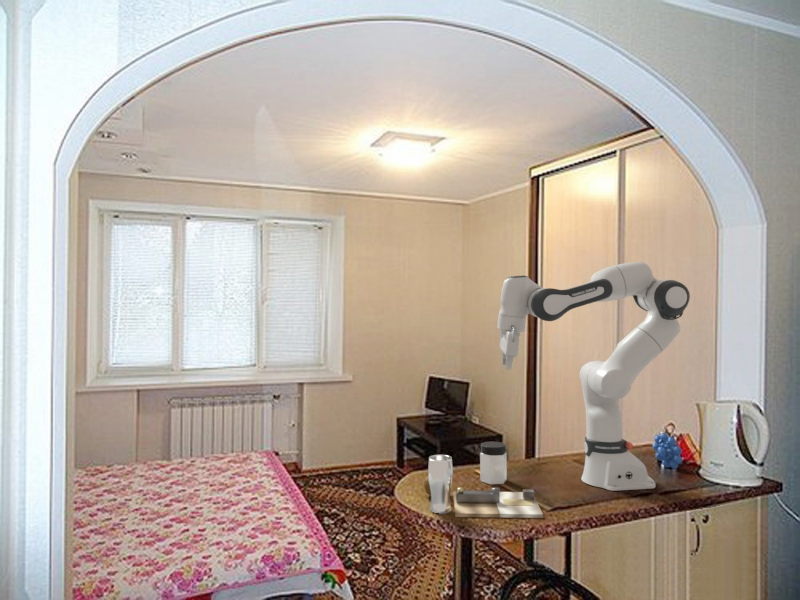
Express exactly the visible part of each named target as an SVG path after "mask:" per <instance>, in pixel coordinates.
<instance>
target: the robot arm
mask: <svg viewBox="0 0 800 600" xmlns="http://www.w3.org/2000/svg"><path fill="white" fill-rule="evenodd" d="M690 295H691V294H690V290H689V288H687V286H686V285H684V284H683V283H682V282H680V281H678V280H673V279H665V278H664V279H662V278H661V279H656V277H655V276H654V274H653V271H652V269H651V267H650V266H649V265H648V264H647V263H645V262H643V261H631V262H630V261H629V262H623V263H620V264H614V265H610V266H607V267H604V268H602V269H600V270H598V271H596V272H594V273H593V274H592V275H591V278H590V280H589V281H588V282H586V283H583V284H579V285H577V286H573V287H572V286H571V287H569V288H566V289H557V288H549V287H548V288H545V287H543V286H541V285H539V284H537V283H536V282H534V281H533V280H532V279H531V278H530V277H529V276H527V275H512V276H508V277H506V278H505V279H504V280H503V284H502V287H501V293H500V302H499V303H500V309H499V312H498V316H497V325H496V329H498V330H499V348H500V350H501V351H502V353H501V355H502V362H501V364H502V365H503V366H504V368H505V370H509V371H510V370H511V369H512V365H513V362H514V358H517V356H518V354H519V345H520V344H519V343H520V336H521V333H523V332H525V330H526V323H527V321H526V320H527V315H531V316H533V317H535V318H538V319H540V320H542V321H545V322H554V321H556V320H559V319H560V318H562V317H563V316H564V315H565V314H566V313H567V312H570V311H571V310H573V309H576V308H579V307H582V306H586V305H589V304H593V303H597V302H600V303H603V302H604V303H605V302H611V301H612V302H613V301H616V300H621V299H622V300H623V299H625V298H628V297H632V298H633V299H634V300H633V301H634V302H635V305H637V306H638V308H640V309H642V310H643V311H645V312H647V314H646V317H645V318H644V319H643V321H642V322H641V323H640V324H638V325H637V326H636V327H635V328H634V329H632V330H631V331H630V332H629V333H628V334H627V335H626V336H625V337H624V338H622V339H621V340H620V341H619V342H618V343H617V345H616V347H615V349H614V351H613V352H612V354H610V356H609V357H608V358H607V359H606V360H605V361H602V360H599V359H598V360H591V361H588V362H586V363H585V364H583V365H582V367H581V368H580V370H579V380H580V384H581V389H582V395H583V401H584V402H583V403H584V407H585V419H586V421H585V422H586V423H585V424H586V425H585V428H586V430H585V432H586V434H585V435H586V436H585V438H584V454H585V459H584V465H583V472H582V475H581V481H582V482H583V483H585V484H587V485H590V486H593V487H597V488H602V489H606V490H608V491H614V492H615V491H629V490H631V491H632V490H635V491H636V490H647V489H648V490H649V489H656V481H655V480H654V479H653V478H652V477H650V476H649V474H648V470H647V467H646V465H645V464H644V463H643V461H641V460H640V459H639V458H638V457H637V456H635V455H634V454H633V453H631V452H630V451H629V450H633V448H634V444H633V443H632V442H630V441H627V440H626V439H625V438H623V415H622V412H621V410H620V407H619V401H618V400H620V399H623V398H625V397H626V396H627V395H628V394H629V393H630V392H631V388H632V384H633V383H634V382H635V380H636V379H637V377H638V376H639V375H640V374H641V372H642V371H643V370H644V369H645V368H646V367H648V365H649V364H650V363H651V362H652V361H653V360H655V359H656V358H657V357H658V356H659V355H660V354H661V353H663V351H665V350H666V349H667V348H668V347H669V346H670V344H671V343H673V341H674V340H675V338H677V336H678V335H679V334H680V331H681V325H680V323H679V320H678V319H679V318H681V317H682V316H683V314H684V311H685V310H686V308H687V307H688V306H689V305H688V304H689V302H690V298H691V296H690Z"/></svg>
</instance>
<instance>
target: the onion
mask: <svg viewBox="0 0 800 600" xmlns="http://www.w3.org/2000/svg"><path fill="white" fill-rule="evenodd" d="M423 488H424V492H425V493H426V494H427V495H428V496H430V497H431V490H430V484H429V477H428V475H427V476H426V477H425V479H424V481H423Z"/></svg>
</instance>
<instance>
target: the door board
mask: <svg viewBox="0 0 800 600" xmlns="http://www.w3.org/2000/svg"><path fill="white" fill-rule="evenodd" d="M456 491H457V490H454V491H452V498H453V499H452V500H453V507H454V515H455V518H506V519H507V518H511V519H512V518H515V519H544V513H543V511H542V510H541V507H540V505H539V503H538V501H537V500H536V497H535V491H534V489H527V488H526V489H522V491H500V502H498V503H478V502H456Z"/></svg>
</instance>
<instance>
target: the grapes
mask: <svg viewBox="0 0 800 600" xmlns="http://www.w3.org/2000/svg"><path fill="white" fill-rule="evenodd" d="M653 438H654V442H653V443H652V449H653V450H654V451H655V459H657V460H658V461H661V464H662V465H663V467H664V468H666V469H667V468H671V469H674V470H675V469H678V467H679V465H681V464H682V463H683V458H682V457H681V454H682V451H683V450H682V448H681V447H680V446H679V445H677V441H676V439H675V437H673V436H668V434H667V433H665V432H662V433H660V434H659V435H658V434H655V436H654V437H653Z"/></svg>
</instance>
